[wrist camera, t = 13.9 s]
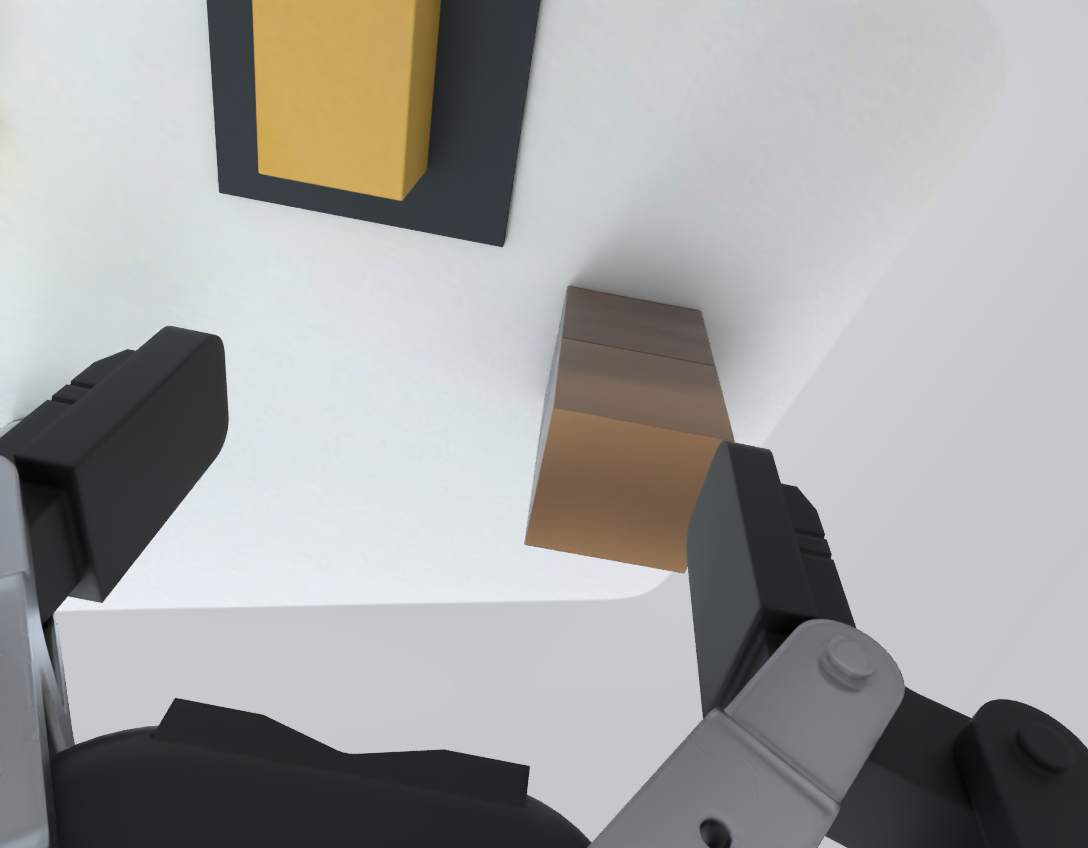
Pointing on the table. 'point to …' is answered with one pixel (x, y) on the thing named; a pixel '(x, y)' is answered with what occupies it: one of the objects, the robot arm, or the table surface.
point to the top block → (345, 91)
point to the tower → (625, 431)
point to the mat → (455, 133)
